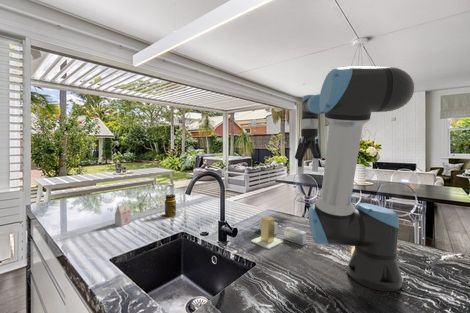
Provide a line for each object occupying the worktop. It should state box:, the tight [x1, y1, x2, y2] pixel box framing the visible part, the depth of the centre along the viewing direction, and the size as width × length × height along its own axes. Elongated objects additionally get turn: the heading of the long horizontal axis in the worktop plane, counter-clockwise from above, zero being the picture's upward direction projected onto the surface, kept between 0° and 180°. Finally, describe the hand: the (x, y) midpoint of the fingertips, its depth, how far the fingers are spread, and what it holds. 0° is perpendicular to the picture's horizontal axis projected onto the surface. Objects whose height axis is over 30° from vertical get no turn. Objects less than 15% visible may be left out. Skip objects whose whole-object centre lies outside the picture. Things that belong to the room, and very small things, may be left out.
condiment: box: [159, 194, 178, 219], centre depth 136 cm, size 7×8×12 cm
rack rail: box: [258, 219, 308, 246], centre depth 109 cm, size 24×3×5 cm, turn 43°
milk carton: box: [114, 203, 132, 228], centre depth 122 cm, size 4×7×10 cm, turn 161°
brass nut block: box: [260, 215, 276, 243], centre depth 102 cm, size 4×4×10 cm
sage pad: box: [250, 235, 285, 250], centre depth 103 cm, size 10×10×1 cm
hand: (308, 172), depth 115 cm, fingers open, 13 cm apart
